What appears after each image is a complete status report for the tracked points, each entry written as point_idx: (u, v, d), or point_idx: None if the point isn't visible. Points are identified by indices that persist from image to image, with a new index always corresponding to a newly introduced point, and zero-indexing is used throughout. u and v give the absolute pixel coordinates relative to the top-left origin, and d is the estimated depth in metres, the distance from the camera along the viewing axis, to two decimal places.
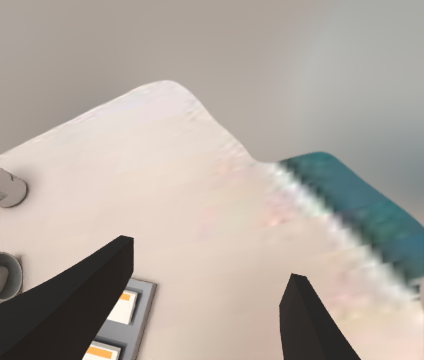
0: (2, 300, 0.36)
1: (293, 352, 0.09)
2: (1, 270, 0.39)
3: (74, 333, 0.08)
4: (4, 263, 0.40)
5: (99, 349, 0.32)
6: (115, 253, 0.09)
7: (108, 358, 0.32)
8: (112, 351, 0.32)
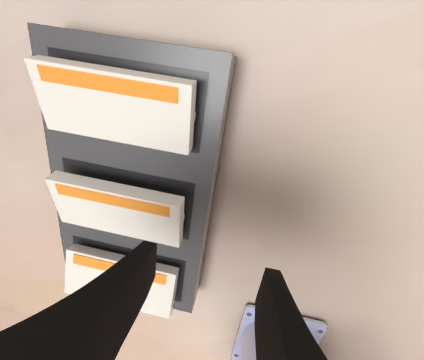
0: None
1: (262, 344, 0.09)
2: None
3: (106, 341, 0.08)
4: None
5: (142, 203, 0.15)
6: (142, 259, 0.09)
7: (165, 215, 0.15)
8: (169, 205, 0.15)
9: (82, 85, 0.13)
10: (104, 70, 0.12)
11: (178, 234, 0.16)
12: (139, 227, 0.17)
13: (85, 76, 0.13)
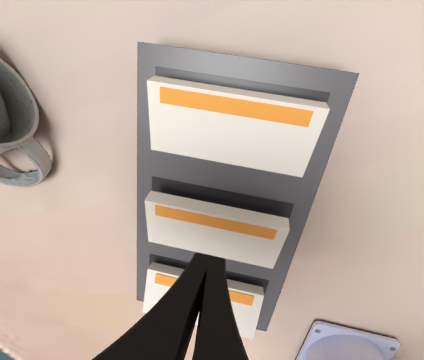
0: (12, 144, 0.16)
1: None
2: None
3: None
4: None
5: (248, 225, 0.15)
6: (203, 274, 0.09)
7: (269, 238, 0.15)
8: (276, 228, 0.14)
9: (205, 107, 0.12)
10: (232, 93, 0.12)
11: (277, 256, 0.16)
12: (235, 248, 0.16)
13: (211, 99, 0.12)
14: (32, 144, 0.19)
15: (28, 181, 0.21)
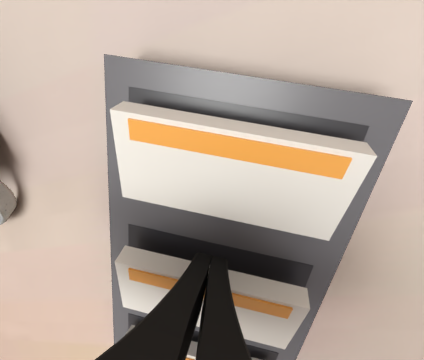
0: None
1: (200, 328, 0.09)
2: None
3: None
4: None
5: (253, 300, 0.11)
6: (205, 274, 0.09)
7: (281, 316, 0.11)
8: (292, 305, 0.11)
9: (193, 148, 0.09)
10: (232, 129, 0.08)
11: (291, 336, 0.12)
12: None
13: (201, 137, 0.08)
14: None
15: None
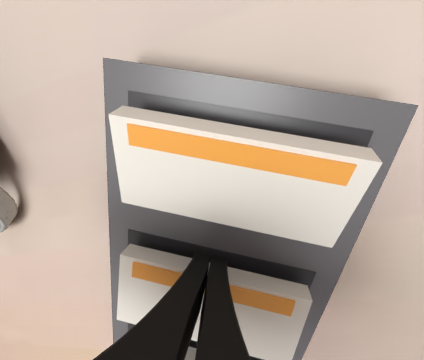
0: None
1: (200, 328, 0.09)
2: None
3: None
4: None
5: (256, 294, 0.11)
6: (204, 274, 0.09)
7: (285, 314, 0.11)
8: (295, 298, 0.11)
9: (194, 153, 0.08)
10: (233, 134, 0.08)
11: (295, 344, 0.11)
12: None
13: (201, 142, 0.08)
14: None
15: None
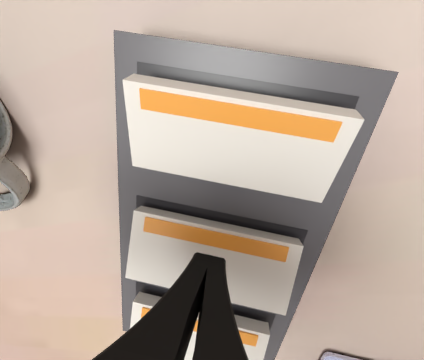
0: None
1: None
2: None
3: None
4: None
5: (254, 241, 0.12)
6: (203, 273, 0.09)
7: (280, 260, 0.12)
8: (288, 245, 0.12)
9: (199, 115, 0.09)
10: (235, 97, 0.09)
11: (290, 291, 0.13)
12: (238, 281, 0.13)
13: (206, 105, 0.09)
14: (4, 165, 0.16)
15: (3, 205, 0.18)
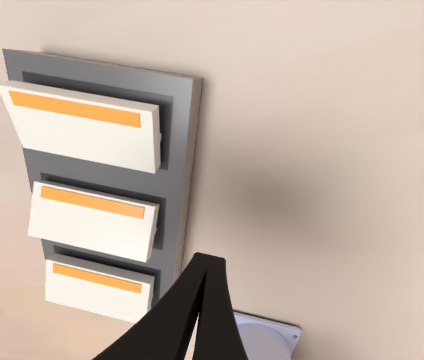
0: None
1: None
2: None
3: None
4: None
5: (120, 203, 0.17)
6: (203, 274, 0.09)
7: (139, 218, 0.17)
8: (145, 206, 0.17)
9: (52, 109, 0.14)
10: (71, 96, 0.13)
11: (148, 243, 0.17)
12: (110, 235, 0.17)
13: (54, 102, 0.13)
14: None
15: None
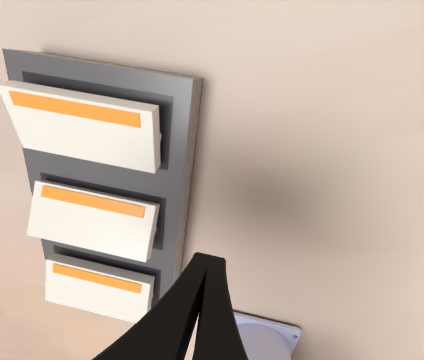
0: None
1: None
2: None
3: None
4: None
5: (120, 202, 0.17)
6: (203, 274, 0.09)
7: (139, 217, 0.17)
8: (145, 205, 0.17)
9: (52, 109, 0.14)
10: (71, 96, 0.13)
11: (148, 242, 0.17)
12: (110, 235, 0.17)
13: (54, 102, 0.13)
14: None
15: None
